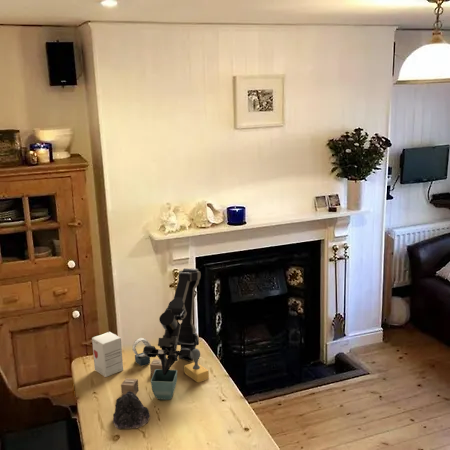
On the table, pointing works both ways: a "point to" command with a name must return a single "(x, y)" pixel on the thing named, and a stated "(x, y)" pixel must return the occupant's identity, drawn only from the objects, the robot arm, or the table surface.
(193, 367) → the rubber stamp
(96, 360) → the supplement box
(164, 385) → the flower pot
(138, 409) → the crystal cluster
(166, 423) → the table surface
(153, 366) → the numbered block seven
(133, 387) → the numbered block one
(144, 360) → the watch
